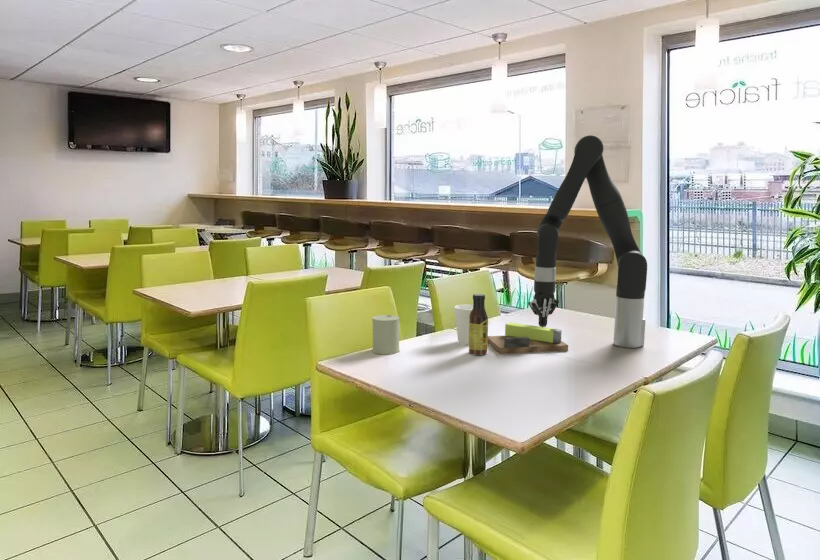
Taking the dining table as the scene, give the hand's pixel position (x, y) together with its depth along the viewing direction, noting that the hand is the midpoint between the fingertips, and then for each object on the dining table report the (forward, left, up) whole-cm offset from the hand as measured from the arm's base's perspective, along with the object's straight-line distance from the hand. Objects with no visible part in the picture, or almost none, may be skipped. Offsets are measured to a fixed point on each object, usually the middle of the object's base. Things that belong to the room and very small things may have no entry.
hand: (542, 326), depth 207 cm
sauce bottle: (+28, +13, -5) cm, 31 cm away
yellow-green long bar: (+6, +5, -3) cm, 8 cm away
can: (+58, +5, -5) cm, 58 cm away
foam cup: (+28, -1, -5) cm, 28 cm away
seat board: (+9, +7, -5) cm, 12 cm away
